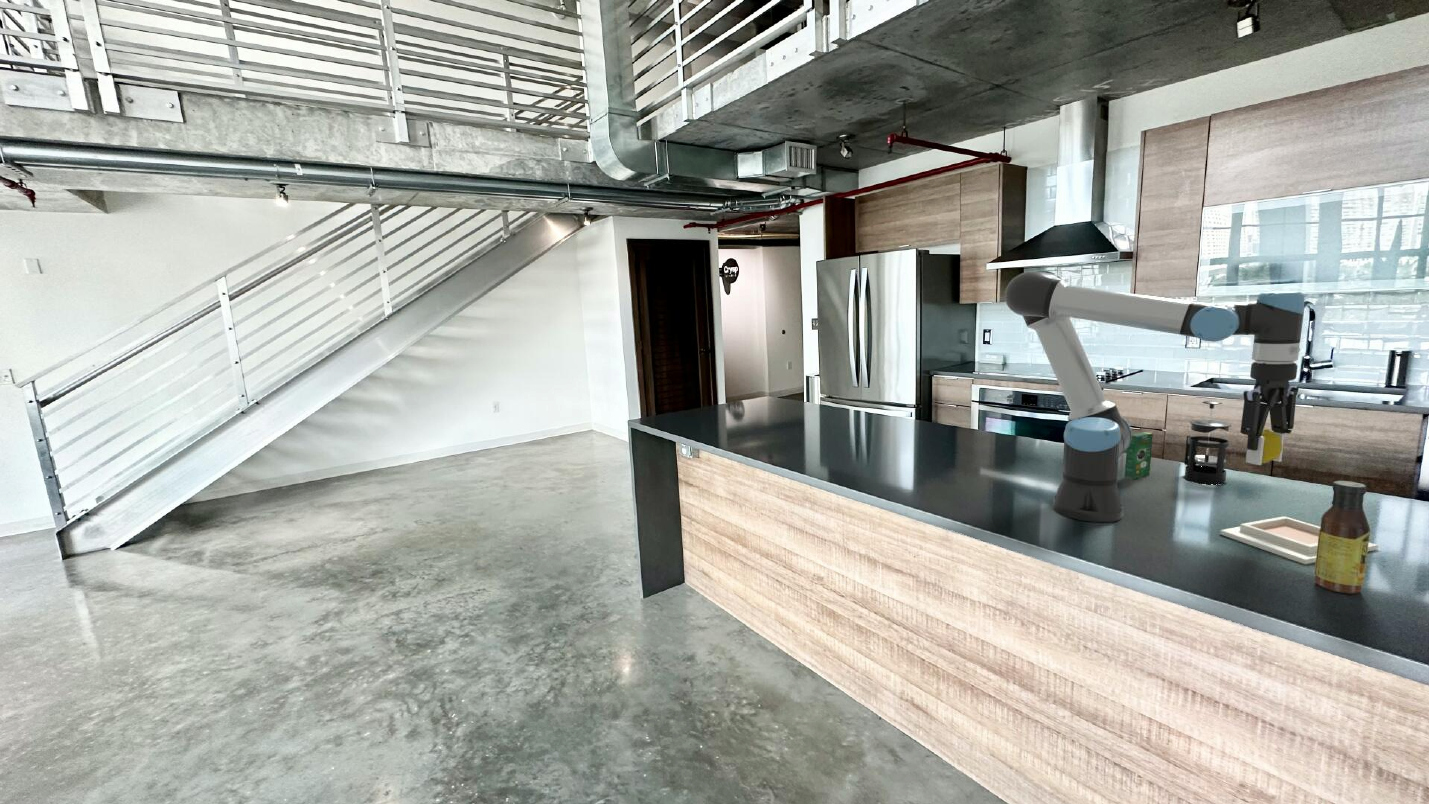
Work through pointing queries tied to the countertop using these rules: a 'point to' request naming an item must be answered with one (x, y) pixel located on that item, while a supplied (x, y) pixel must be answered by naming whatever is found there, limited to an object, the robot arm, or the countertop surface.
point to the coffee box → (1138, 456)
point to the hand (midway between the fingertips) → (1263, 461)
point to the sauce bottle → (1343, 540)
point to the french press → (1205, 472)
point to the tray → (1282, 537)
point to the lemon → (1271, 445)
